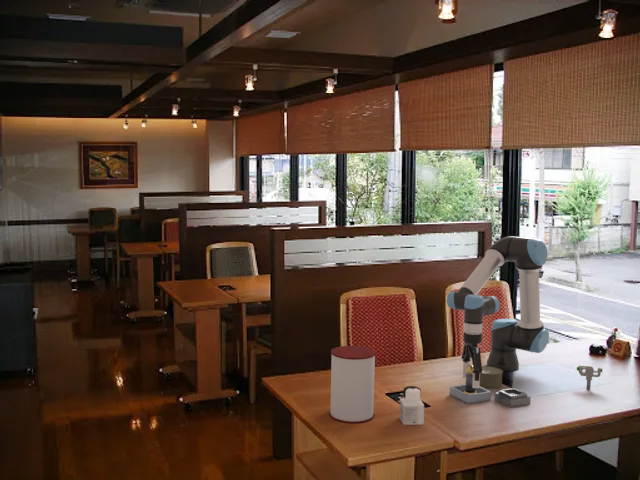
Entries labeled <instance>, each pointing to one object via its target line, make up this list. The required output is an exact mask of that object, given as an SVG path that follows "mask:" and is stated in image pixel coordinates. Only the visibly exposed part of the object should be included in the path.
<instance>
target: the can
mask: <svg viewBox="0 0 640 480" xmlns="http://www.w3.org/2000/svg"><path fill="white" fill-rule="evenodd" d="M477 370H478V369H477ZM503 373H504V371H502V370H501V369H499V368H496V367H490V366H487V365H486V366H485V365H483V366H482V373H480V385H479V386H480V387H482V388H484V389H486V390H499V389H501V388H502V387H503V386H502V385H503Z"/></svg>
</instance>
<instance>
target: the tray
mask: <svg viewBox="0 0 640 480" xmlns="http://www.w3.org/2000/svg"><path fill="white" fill-rule="evenodd" d="M465 387H466V383H465V384H458V385H451V386H449V396H450V397H452V398H455V399H456V400H458V401H460V402H462V403H464V404H465V405H470V404H476V403H477V404H478V403H482V402H488V401H492V391H491V390H489V389H484V388H482V387H480V386H479V388H475V391H476V392H477V393H475V394H469V395H467V394H465V393H464V390H465Z"/></svg>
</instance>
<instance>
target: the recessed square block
mask: <svg viewBox="0 0 640 480" xmlns="http://www.w3.org/2000/svg"><path fill="white" fill-rule="evenodd" d="M531 398H532V397H531V396H528V393H526V392H524V391H522V390H520V389H518V388H515V387H513V388H512V387H511V388H504V389H500V390H499V389H498V391H497V392H494V400H495V401H497V402H499V403H500V404H503V405H505V406H506V407H509V408H510V409H511V408H516V407H517V408H518V407H522V406H523V407H525V406H529V405H531Z"/></svg>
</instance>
